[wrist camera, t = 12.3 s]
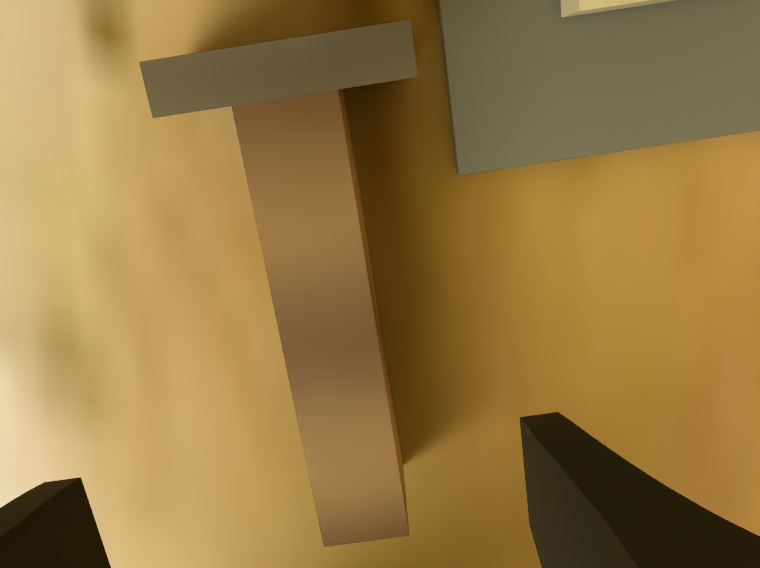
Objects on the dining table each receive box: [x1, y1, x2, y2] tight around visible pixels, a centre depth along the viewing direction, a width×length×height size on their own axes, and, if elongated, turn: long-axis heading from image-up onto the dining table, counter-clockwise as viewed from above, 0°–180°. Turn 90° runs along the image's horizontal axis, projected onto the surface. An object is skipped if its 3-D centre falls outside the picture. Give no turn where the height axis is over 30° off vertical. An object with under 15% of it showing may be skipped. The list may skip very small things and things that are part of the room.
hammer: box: [139, 19, 418, 547], centre depth 18 cm, size 13×6×4 cm, turn 8°
